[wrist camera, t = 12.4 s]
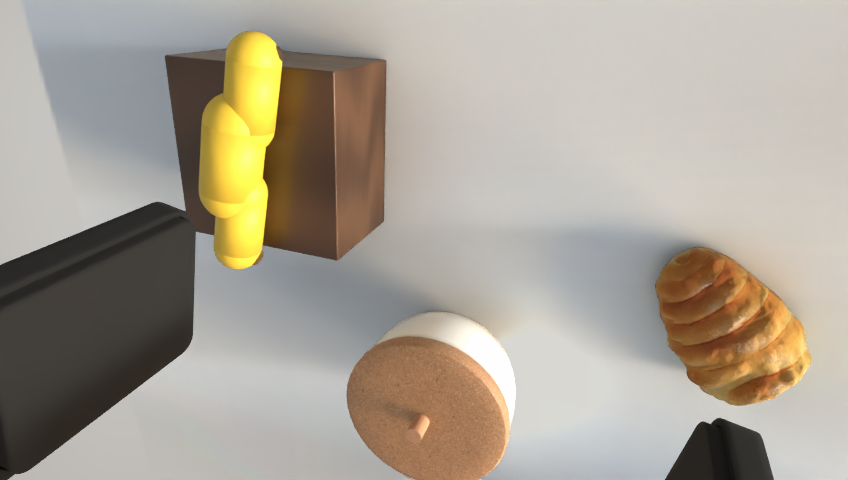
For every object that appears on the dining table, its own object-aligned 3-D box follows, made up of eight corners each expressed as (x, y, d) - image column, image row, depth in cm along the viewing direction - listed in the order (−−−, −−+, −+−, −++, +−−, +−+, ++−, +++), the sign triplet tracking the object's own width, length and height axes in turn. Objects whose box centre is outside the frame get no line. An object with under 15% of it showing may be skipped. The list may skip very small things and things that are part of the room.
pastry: (625, 274, 35) (624, 302, 32) (732, 220, 32) (743, 245, 28) (707, 389, 36) (714, 427, 33) (818, 347, 33) (839, 386, 29)
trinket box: (498, 272, 38) (459, 344, 30) (550, 402, 40) (528, 502, 32) (369, 304, 43) (305, 374, 35) (423, 419, 45) (375, 510, 37)
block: (239, 47, 38) (163, 55, 32) (386, 59, 35) (334, 71, 29) (252, 198, 43) (187, 230, 37) (384, 221, 40) (337, 261, 34)
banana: (215, 16, 29) (198, 25, 26) (290, 33, 30) (282, 44, 27) (203, 246, 36) (188, 274, 33) (265, 255, 36) (256, 284, 33)
